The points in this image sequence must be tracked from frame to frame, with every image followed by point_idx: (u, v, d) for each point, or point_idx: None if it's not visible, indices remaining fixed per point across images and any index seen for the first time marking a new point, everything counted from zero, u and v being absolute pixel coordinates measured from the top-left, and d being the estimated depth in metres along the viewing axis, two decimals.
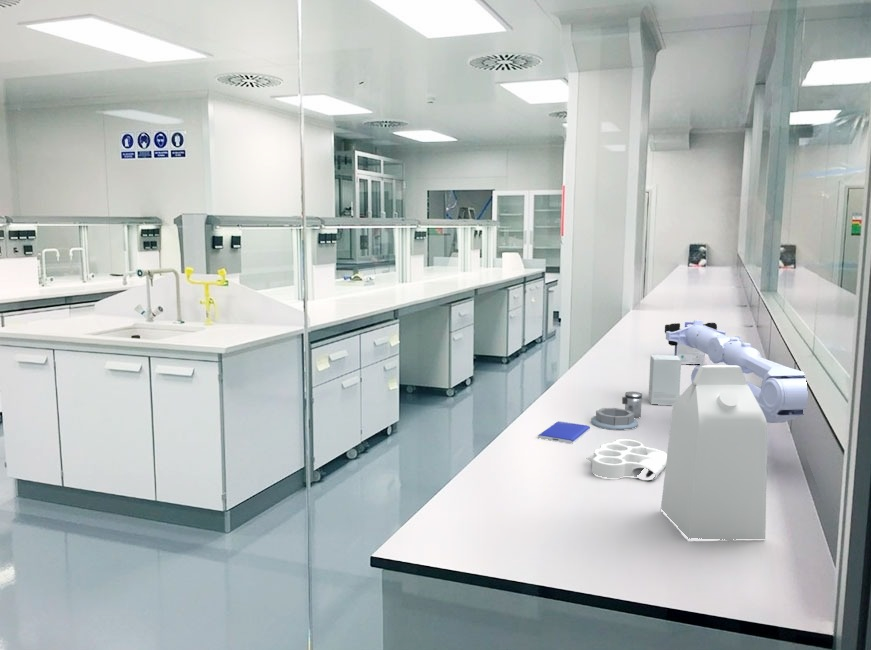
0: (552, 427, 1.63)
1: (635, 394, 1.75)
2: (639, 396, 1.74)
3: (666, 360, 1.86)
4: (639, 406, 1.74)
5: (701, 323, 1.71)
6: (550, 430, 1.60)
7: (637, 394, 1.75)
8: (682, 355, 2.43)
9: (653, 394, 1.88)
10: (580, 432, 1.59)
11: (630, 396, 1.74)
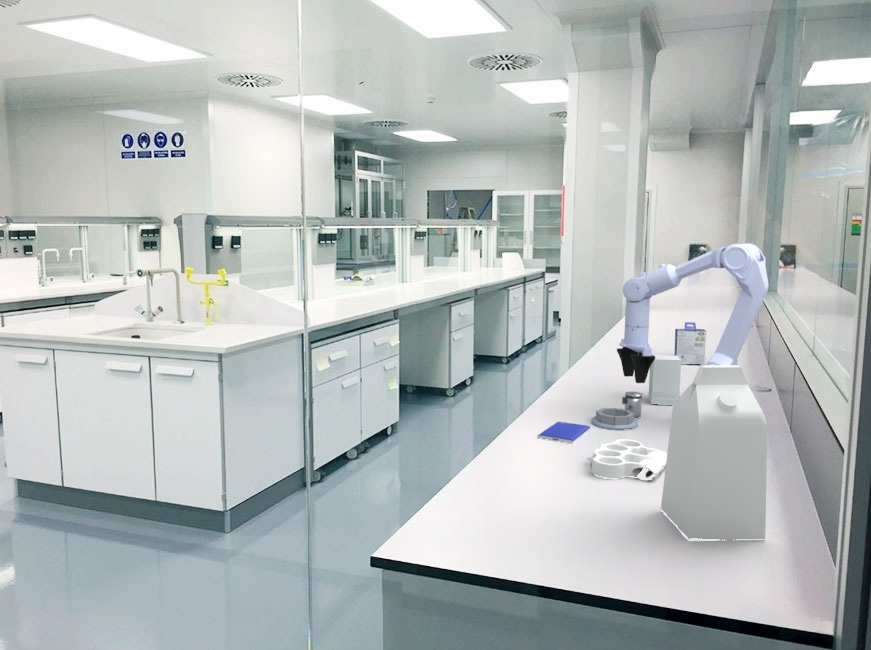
0: (552, 427, 1.63)
1: (635, 394, 1.75)
2: (639, 396, 1.74)
3: (666, 360, 1.86)
4: (639, 406, 1.74)
5: (622, 343, 1.74)
6: (550, 430, 1.60)
7: (637, 394, 1.75)
8: (682, 355, 2.43)
9: (653, 394, 1.88)
10: (580, 432, 1.59)
11: (630, 396, 1.74)
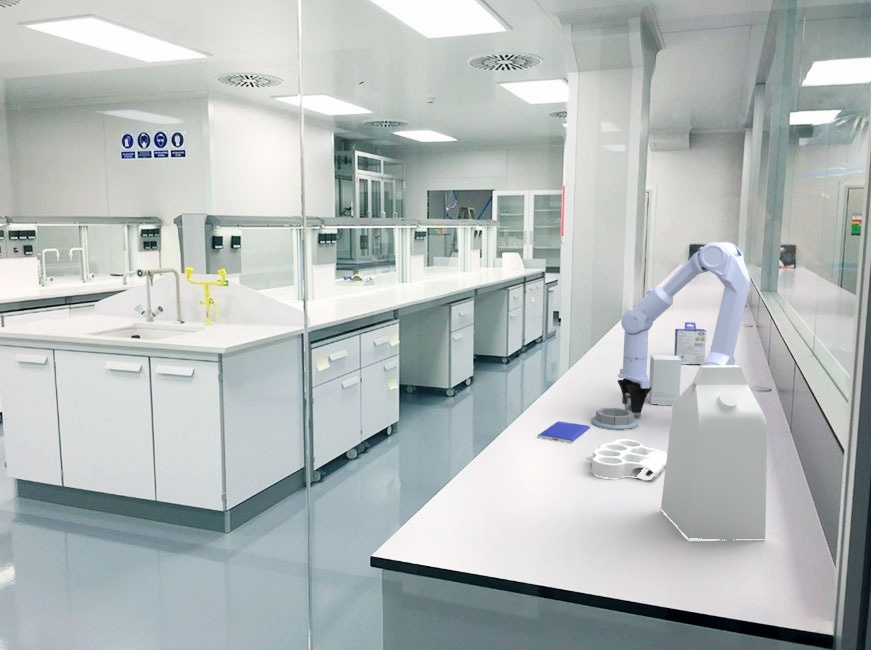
0: (552, 427, 1.63)
1: None
2: None
3: (666, 360, 1.86)
4: None
5: (621, 374, 1.75)
6: (550, 430, 1.60)
7: None
8: (682, 355, 2.43)
9: (653, 394, 1.88)
10: (580, 432, 1.59)
11: None
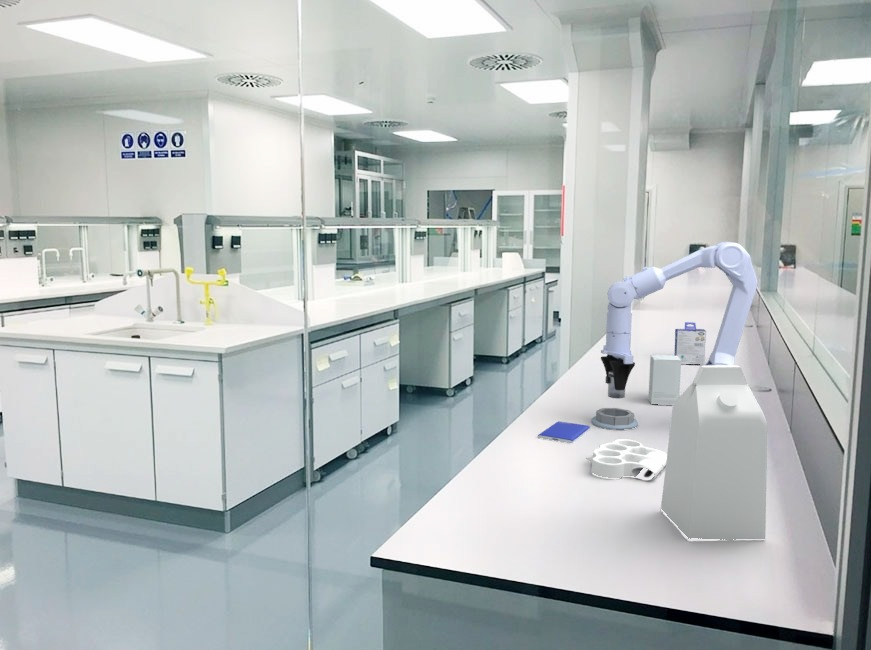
0: (552, 427, 1.63)
1: None
2: None
3: (666, 360, 1.86)
4: None
5: (603, 349, 1.68)
6: (550, 430, 1.60)
7: None
8: (682, 355, 2.43)
9: (653, 394, 1.88)
10: (580, 432, 1.59)
11: None
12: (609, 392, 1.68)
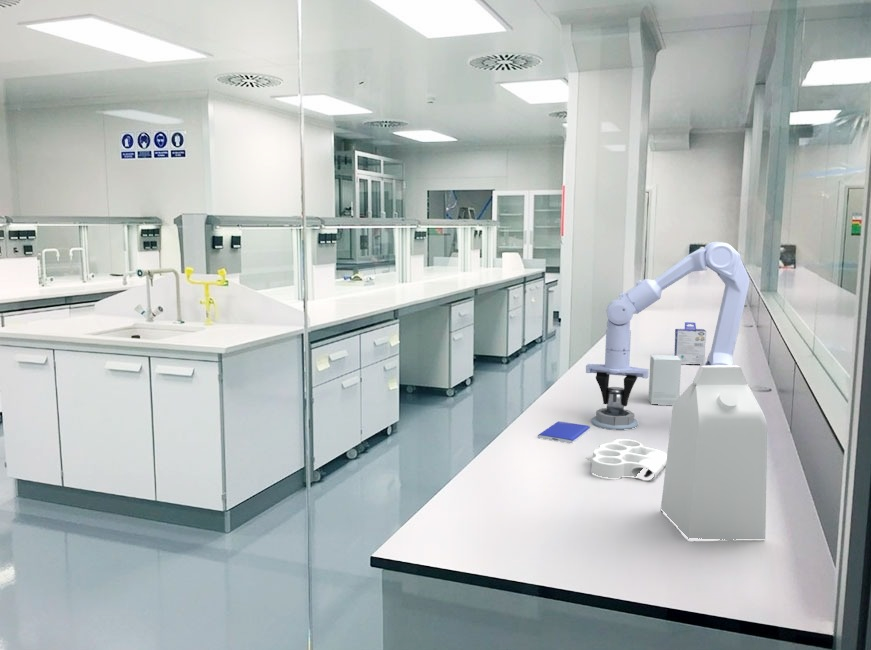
0: (552, 427, 1.63)
1: (620, 389, 1.68)
2: None
3: (666, 360, 1.86)
4: None
5: (611, 369, 1.65)
6: (550, 430, 1.60)
7: (621, 388, 1.69)
8: (682, 355, 2.43)
9: (653, 394, 1.88)
10: (580, 432, 1.59)
11: (621, 392, 1.67)
12: (615, 410, 1.67)
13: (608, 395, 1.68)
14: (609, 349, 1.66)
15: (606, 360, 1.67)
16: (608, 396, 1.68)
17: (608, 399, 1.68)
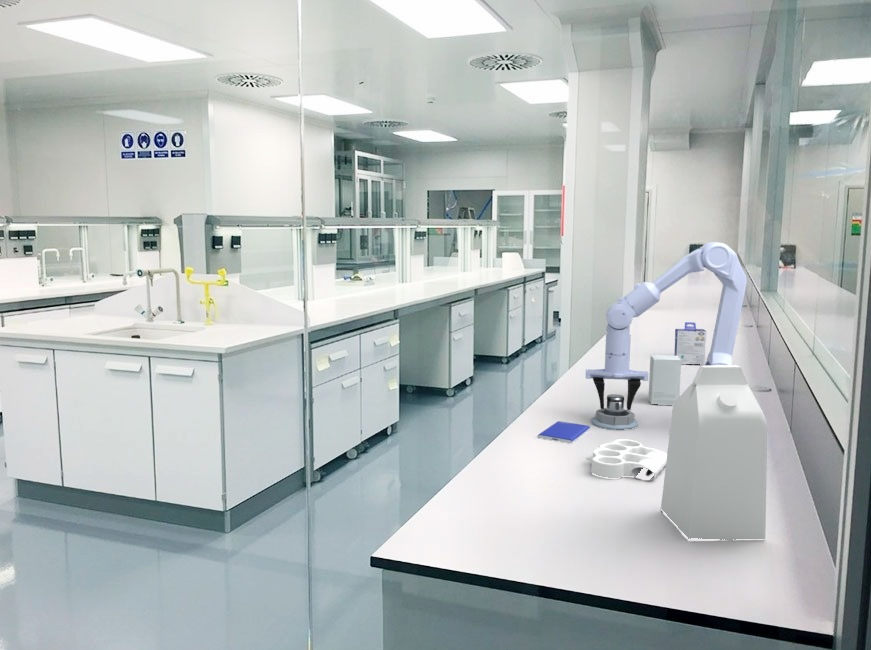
0: (552, 427, 1.63)
1: (620, 396, 1.69)
2: None
3: (666, 360, 1.86)
4: None
5: (615, 373, 1.65)
6: (550, 430, 1.60)
7: (620, 396, 1.69)
8: (682, 355, 2.43)
9: (653, 394, 1.88)
10: (580, 432, 1.59)
11: (622, 399, 1.67)
12: None
13: (609, 403, 1.68)
14: (612, 354, 1.65)
15: (608, 365, 1.66)
16: (609, 404, 1.68)
17: (609, 407, 1.68)
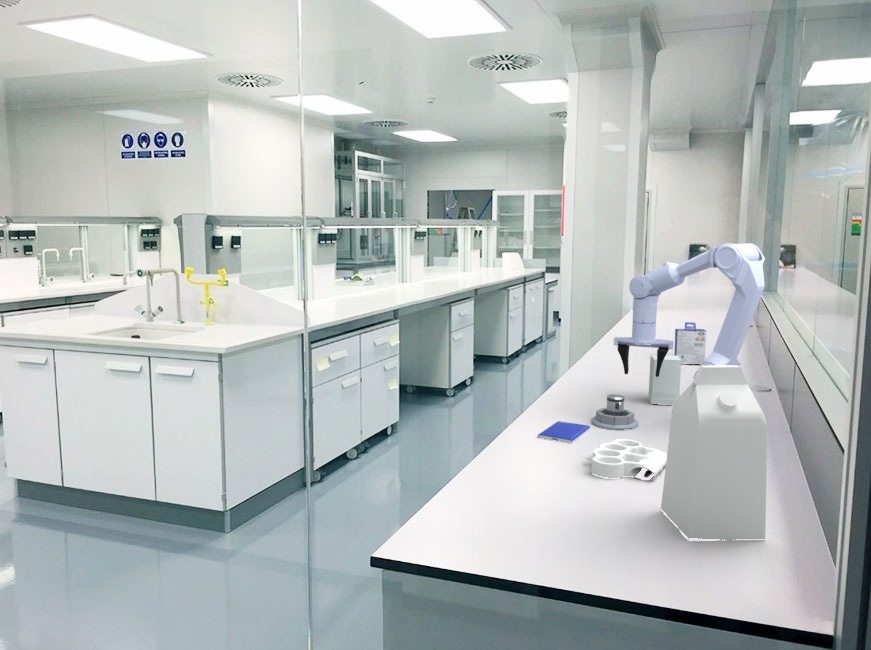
0: (552, 427, 1.63)
1: (620, 396, 1.69)
2: None
3: (666, 360, 1.86)
4: None
5: (639, 341, 1.75)
6: (550, 430, 1.60)
7: (620, 396, 1.69)
8: (682, 355, 2.43)
9: (653, 394, 1.88)
10: (580, 432, 1.60)
11: (622, 399, 1.68)
12: None
13: (609, 403, 1.68)
14: (637, 322, 1.75)
15: (633, 333, 1.77)
16: (609, 404, 1.68)
17: (609, 407, 1.68)
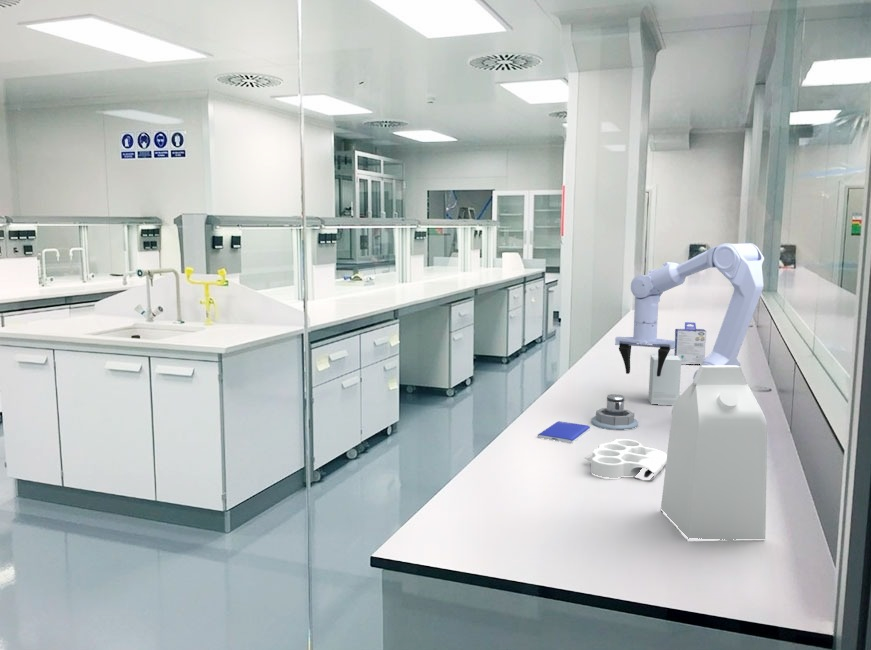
0: (552, 427, 1.63)
1: (620, 396, 1.69)
2: None
3: (666, 360, 1.86)
4: None
5: (640, 340, 1.76)
6: (550, 430, 1.60)
7: (620, 396, 1.69)
8: (682, 355, 2.43)
9: (653, 394, 1.88)
10: (580, 432, 1.60)
11: (622, 399, 1.68)
12: None
13: (609, 403, 1.68)
14: (638, 322, 1.76)
15: (635, 332, 1.77)
16: (609, 404, 1.68)
17: (609, 407, 1.68)
